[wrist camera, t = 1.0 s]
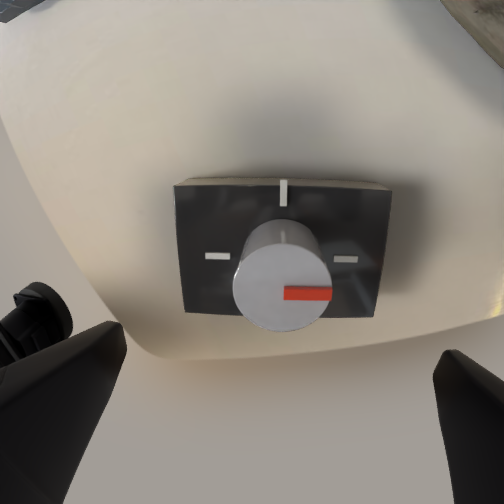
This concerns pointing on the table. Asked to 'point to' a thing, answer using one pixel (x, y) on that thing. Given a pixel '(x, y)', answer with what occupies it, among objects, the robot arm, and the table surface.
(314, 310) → the hob knob
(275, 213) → the panel
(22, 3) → the grey button base
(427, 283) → the table surface
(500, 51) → the bowl
